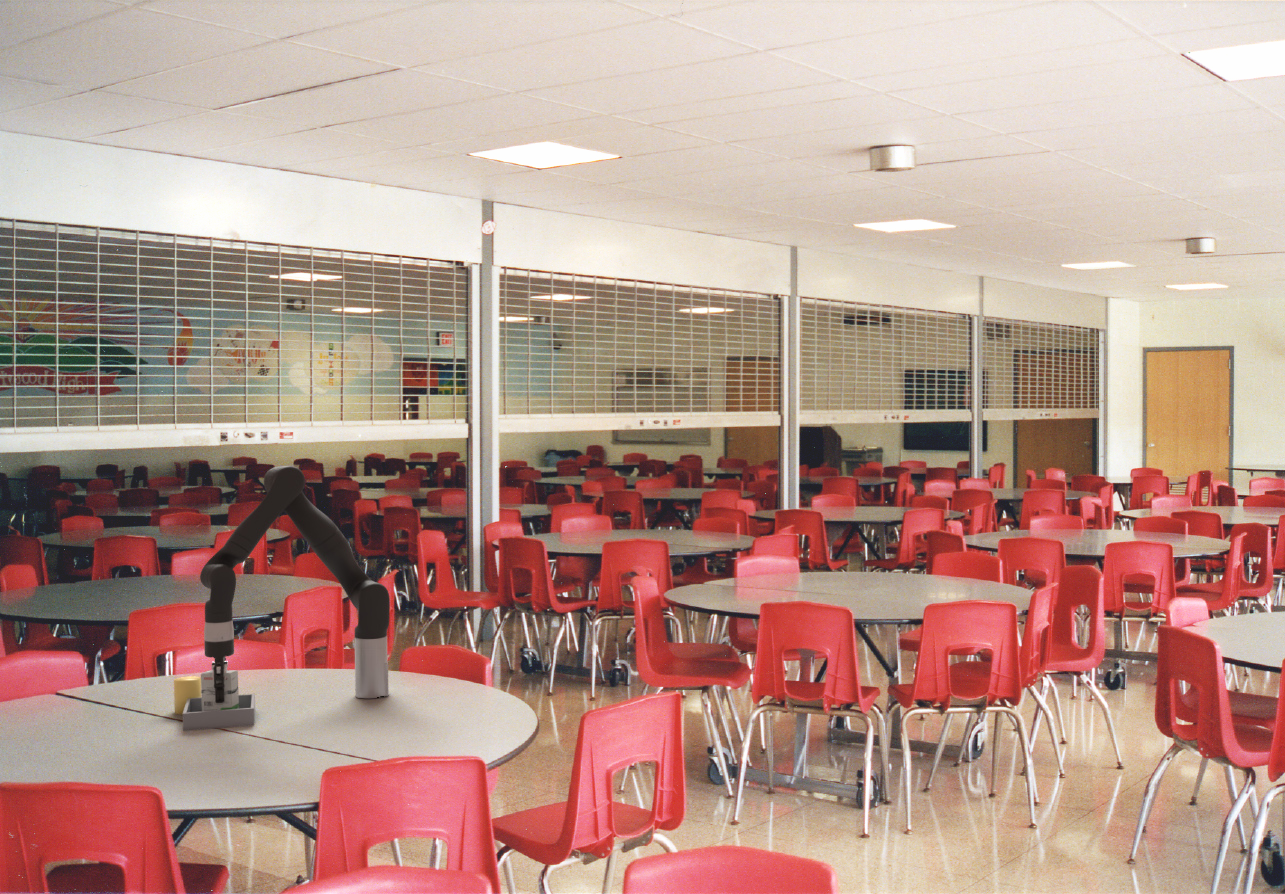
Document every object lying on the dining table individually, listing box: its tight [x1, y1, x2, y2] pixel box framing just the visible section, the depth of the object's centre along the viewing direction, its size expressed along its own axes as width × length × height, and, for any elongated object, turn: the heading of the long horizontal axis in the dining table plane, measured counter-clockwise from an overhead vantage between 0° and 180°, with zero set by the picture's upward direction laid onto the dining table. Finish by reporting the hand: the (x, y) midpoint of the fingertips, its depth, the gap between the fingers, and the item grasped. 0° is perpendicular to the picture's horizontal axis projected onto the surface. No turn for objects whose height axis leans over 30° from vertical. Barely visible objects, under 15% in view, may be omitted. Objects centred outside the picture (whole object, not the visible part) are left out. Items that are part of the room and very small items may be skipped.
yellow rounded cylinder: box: [173, 675, 201, 715], centre depth 337 cm, size 7×7×9 cm
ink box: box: [200, 669, 240, 711], centre depth 327 cm, size 9×5×12 cm, turn 85°
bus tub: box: [182, 693, 256, 732], centre depth 327 cm, size 18×18×4 cm
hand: (220, 699), depth 327 cm, fingers closed on ink box, 6 cm apart
